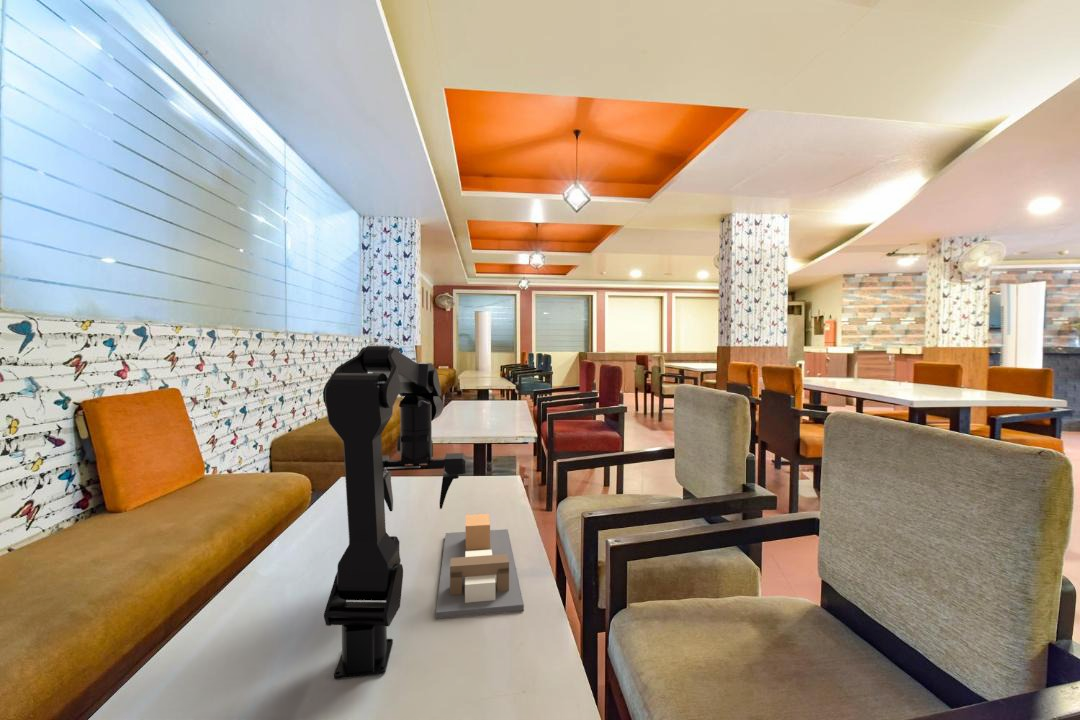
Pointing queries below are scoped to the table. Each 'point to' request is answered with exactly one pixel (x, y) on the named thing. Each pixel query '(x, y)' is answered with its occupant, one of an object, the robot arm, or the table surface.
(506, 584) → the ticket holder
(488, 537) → the peach cube cap
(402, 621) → the table surface
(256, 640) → the table surface
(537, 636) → the table surface
